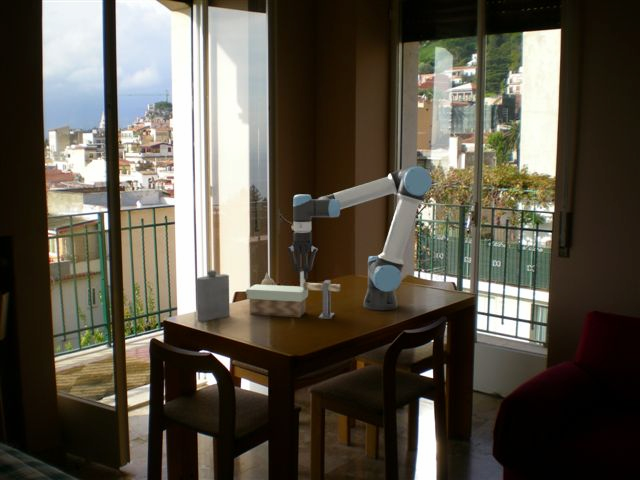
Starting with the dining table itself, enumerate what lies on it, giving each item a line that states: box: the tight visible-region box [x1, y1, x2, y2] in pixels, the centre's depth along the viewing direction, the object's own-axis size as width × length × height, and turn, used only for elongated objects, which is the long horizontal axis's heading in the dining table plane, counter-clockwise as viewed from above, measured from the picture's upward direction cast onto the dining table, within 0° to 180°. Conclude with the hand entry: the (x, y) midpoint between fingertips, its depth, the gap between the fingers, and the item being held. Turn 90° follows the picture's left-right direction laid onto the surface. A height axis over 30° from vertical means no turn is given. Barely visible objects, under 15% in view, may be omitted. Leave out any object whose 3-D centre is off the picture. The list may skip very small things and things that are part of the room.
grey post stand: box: [318, 279, 335, 320], centre depth 290 cm, size 5×8×15 cm, turn 166°
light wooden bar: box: [303, 281, 341, 292], centre depth 290 cm, size 15×3×3 cm, turn 76°
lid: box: [246, 283, 309, 302], centre depth 295 cm, size 24×11×4 cm, turn 76°
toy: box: [245, 272, 278, 295], centre depth 311 cm, size 6×15×15 cm, turn 78°
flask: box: [196, 269, 230, 322], centre depth 286 cm, size 15×6×20 cm, turn 133°
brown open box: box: [249, 298, 306, 318], centre depth 295 cm, size 22×9×7 cm, turn 76°
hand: (302, 286), depth 292 cm, fingers closed
